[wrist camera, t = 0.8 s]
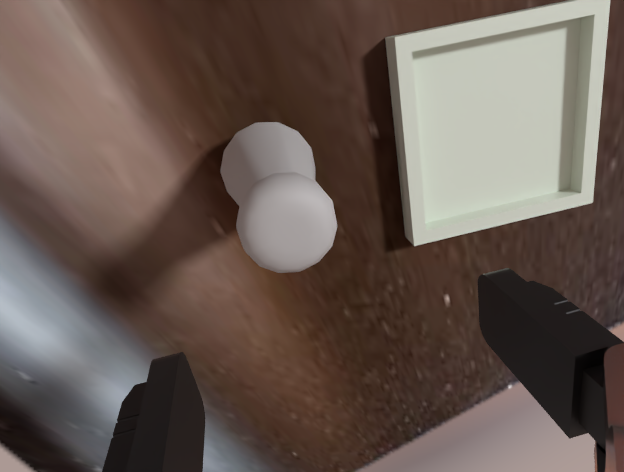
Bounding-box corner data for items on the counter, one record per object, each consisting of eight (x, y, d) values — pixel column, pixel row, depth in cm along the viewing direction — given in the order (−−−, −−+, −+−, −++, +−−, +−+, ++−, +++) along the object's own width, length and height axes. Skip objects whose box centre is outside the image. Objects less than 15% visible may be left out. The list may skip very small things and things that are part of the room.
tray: (385, 37, 29) (394, 37, 27) (589, -4, 30) (610, -7, 28) (405, 236, 34) (414, 246, 33) (575, 195, 36) (592, 202, 34)
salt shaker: (297, 207, 32) (339, 304, 20) (215, 194, 31) (209, 290, 19) (316, 125, 30) (375, 179, 18) (229, 106, 29) (231, 152, 17)
